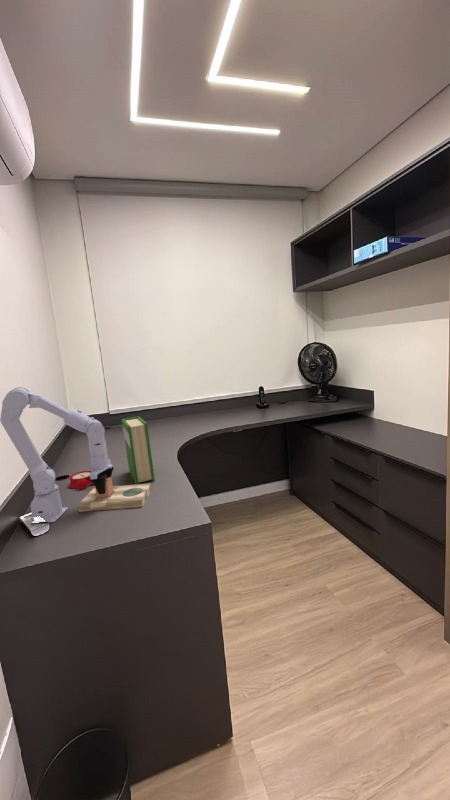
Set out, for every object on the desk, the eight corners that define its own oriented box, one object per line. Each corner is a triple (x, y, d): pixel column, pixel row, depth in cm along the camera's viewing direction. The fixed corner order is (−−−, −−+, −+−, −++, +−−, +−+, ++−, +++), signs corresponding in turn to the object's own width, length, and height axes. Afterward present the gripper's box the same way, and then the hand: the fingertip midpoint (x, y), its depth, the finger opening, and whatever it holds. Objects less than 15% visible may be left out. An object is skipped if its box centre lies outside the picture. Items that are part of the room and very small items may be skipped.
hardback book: (154, 480, 139) (146, 422, 135) (136, 485, 136) (127, 426, 133) (146, 468, 155) (138, 416, 151) (129, 472, 152) (121, 419, 149)
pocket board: (142, 506, 117) (141, 499, 116) (78, 511, 118) (77, 504, 117) (151, 489, 131) (151, 483, 130) (95, 494, 132) (93, 487, 131)
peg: (110, 503, 122) (106, 481, 121) (98, 504, 122) (94, 482, 121) (114, 497, 126) (111, 477, 125) (102, 498, 127) (99, 478, 125)
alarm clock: (86, 469, 152) (102, 467, 141) (89, 482, 152) (106, 481, 141) (62, 477, 144) (77, 475, 134) (66, 491, 144) (82, 491, 134)
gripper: (102, 460, 114) (108, 498, 116) (116, 447, 129) (122, 481, 131) (81, 462, 115) (87, 500, 117) (98, 448, 129) (103, 483, 131)
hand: (104, 490), depth 124 cm, fingers closed on peg, 4 cm apart
